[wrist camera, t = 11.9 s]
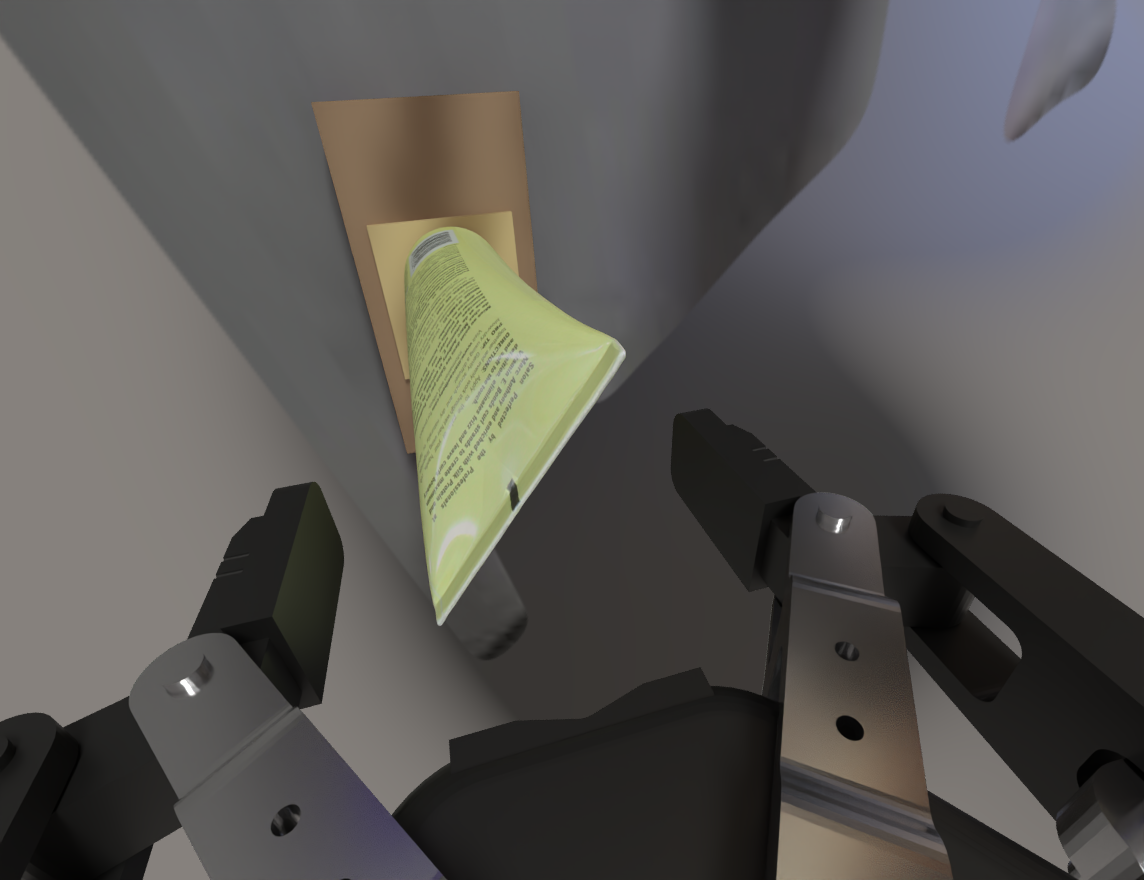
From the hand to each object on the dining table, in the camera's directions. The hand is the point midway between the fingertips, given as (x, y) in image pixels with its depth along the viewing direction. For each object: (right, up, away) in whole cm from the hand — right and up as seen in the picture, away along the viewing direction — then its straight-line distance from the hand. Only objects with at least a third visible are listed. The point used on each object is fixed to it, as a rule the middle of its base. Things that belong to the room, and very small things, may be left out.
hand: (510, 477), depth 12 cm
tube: (-5, +9, +15) cm, 18 cm away
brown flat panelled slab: (-6, +10, +18) cm, 22 cm away
